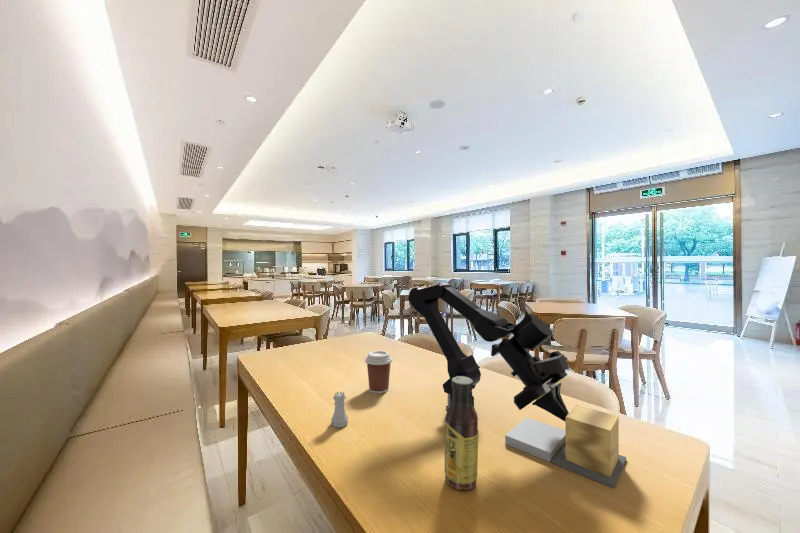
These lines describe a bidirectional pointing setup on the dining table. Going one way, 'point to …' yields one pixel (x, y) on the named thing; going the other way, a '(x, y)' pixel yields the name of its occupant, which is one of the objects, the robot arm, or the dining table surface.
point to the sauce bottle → (461, 436)
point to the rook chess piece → (339, 411)
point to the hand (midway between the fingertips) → (569, 421)
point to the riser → (536, 438)
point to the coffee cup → (378, 371)
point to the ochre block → (592, 439)
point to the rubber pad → (589, 473)
